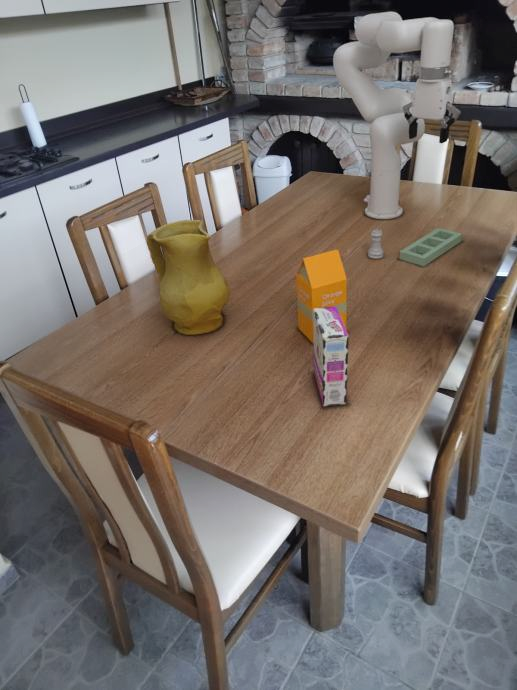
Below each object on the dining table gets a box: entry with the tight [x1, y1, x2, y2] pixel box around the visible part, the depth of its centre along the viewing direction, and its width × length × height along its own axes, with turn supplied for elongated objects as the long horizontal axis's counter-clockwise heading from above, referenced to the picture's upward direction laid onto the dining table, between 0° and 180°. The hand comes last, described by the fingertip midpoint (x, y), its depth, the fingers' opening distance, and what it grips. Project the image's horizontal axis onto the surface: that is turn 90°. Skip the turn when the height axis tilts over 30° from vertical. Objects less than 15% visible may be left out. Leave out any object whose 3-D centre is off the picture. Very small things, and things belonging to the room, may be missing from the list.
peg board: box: [398, 227, 463, 267], centre depth 158 cm, size 8×21×2 cm, turn 135°
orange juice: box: [295, 248, 348, 345], centre depth 123 cm, size 8×9×20 cm
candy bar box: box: [313, 306, 350, 407], centre depth 106 cm, size 11×5×16 cm, turn 5°
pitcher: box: [146, 219, 231, 336], centre depth 130 cm, size 17×19×25 cm
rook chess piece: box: [367, 228, 384, 260], centre depth 156 cm, size 4×4×8 cm
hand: (427, 140), depth 154 cm, fingers open, 9 cm apart
